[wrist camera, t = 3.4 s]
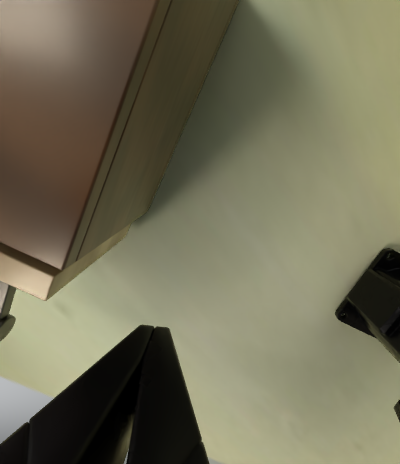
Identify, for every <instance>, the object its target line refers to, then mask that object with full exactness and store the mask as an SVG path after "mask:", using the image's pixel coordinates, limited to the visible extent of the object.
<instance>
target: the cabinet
mask: <svg viewBox="0 0 400 464" xmlns="http://www.w3.org/2000/svg"><path fill="white" fill-rule="evenodd" d="M238 2H239V0H0V242H1V243H3V244H5V245H7V246H9V247H12V248H14V249H16V250H18V251H20V252H23V253H25V254H27V255H29V256H31V257H33V258H36V259H38V260H40V261H42V262H44V263H46V264H49V265H51V266H53V267H55V268H57V269H59V270H65V269H66V268H67V267H69V266H70V265H72V264H73V263H74V262H77V261H78V260H79V259H81V258H82V257H84V256H85V255H87V254H88V253H89V252H91V251H92V250H94V249H95V248H96V247H98V246H99V245H101V244H102V243H104V242H105V241H106V240H108V239H109V238H111V237H112V236H114V235H115V234H116V233H118V232H119V231H121V230H122V229H124V228H125V227H126V226H128V225H129V224H131V223H132V222H133V221H135V220H136V219H138V218H139V217H141V216H142V215H143V214H145V213H146V212H148V210H149V208H150V205H151V203H152V201H153V199H154V196H155V194H156V192H157V189H158V187H159V185H160V182H161V180H162V178H163V175H164V173H165V171H166V169H167V166H168V164H169V162H170V159H171V157H172V155H173V152H174V150H175V148H176V145H177V143H178V141H179V138H180V136H181V134H182V132H183V129H184V127H185V125H186V122H187V120H188V118H189V115H190V113H191V111H192V108H193V106H194V104H195V102H196V99H197V97H198V95H199V92H200V90H201V88H202V85H203V83H204V81H205V78H206V76H207V74H208V71H209V69H210V67H211V65H212V62H213V60H214V58H215V55H216V53H217V51H218V48H219V46H220V44H221V41H222V39H223V37H224V35H225V32H226V30H227V28H228V25H229V23H230V21H231V18H232V16H233V14H234V11H235V9H236V7H237V5H238Z"/></svg>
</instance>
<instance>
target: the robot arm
mask: <svg viewBox="0 0 400 464" xmlns="http://www.w3.org/2000/svg"><path fill="white" fill-rule="evenodd" d="M388 254H390V256H389V257H388V258H387V255H388ZM343 313H345V314H344V315H343V316H341V315H342V314H343ZM335 315H336V317H337V318H338V320H340V321H341V322H343V323H345V324H348V325H350V326H352V327H354V328H356V329H358V330H360V331H362V332H364V333H366V334H368V335H370V336H372V337H375V338H377V339H378V340H379V341H380V342H381V343H382V345H383V346H384V347H385V348H386V349H387V350H388V351H389V352H390V353H391V354H392V355H393V357H394V358H395V359H396V360H397V361H398V362H399V363H400V253H398V252H396V251H394V250H392V249H390V248H385V249H383V250H382V251H381V252H380V253H379V255H378V256H377V257H376V259H375V260H374V261H373V263H372V264H371V265H370V266H369V268H368V269H367V270H366V271H365V273H364V274H363V275H362V277H361V278H360V279H359V281H358V282H357V283H356V285H355V286H354V287H353V289H352V290H351V291H350V293H349V294H348V295H347V297H346V298H345V299H344V301H343V302H342V303H341V305H340V306H339V307H338V309H337V310H336V312H335ZM394 409H395V412H396V414H397V417H398V419H399V422H400V400H399V401H398V402H397V403H396V405H395V406H394ZM201 441H202V438H201V434H200V431H199V427H198V424H197V421H196V417H195V414H194V410H193V407H192V404H191V400H190V397H189V393H188V390H187V387H186V383H185V380H184V376H183V373H182V370H181V366H180V363H179V359H178V356H177V353H176V349H175V346H174V342H173V339H172V336H171V332H170V329H169V328H167V327H158V326H157V327H155V328H154V326H150V325H140V326H138V327H137V328H136V329H135V330H134V331H132V332H131V333H130V334H129V335H128V336H127V337H125V338H124V339H123V340H122V341H121V342H120V343H118V344H117V345H116V346H115V347H114V348H113V349H111V350H110V351H109V352H108V353H107V354H106V355H104V356H103V357H102V358H101V359H100V360H99V361H97V362H96V363H95V364H94V365H93V366H92V367H90V368H89V369H88V370H87V371H86V372H84V373H83V374H82V375H81V376H80V377H79V378H77V379H76V380H75V381H74V382H73V383H72V384H70V385H69V386H68V387H67V388H66V389H65V390H63V391H62V392H61V393H60V394H59V395H58V396H56V397H55V398H54V399H53V400H52V401H51V402H50V403H48V404H47V405H46V406H45V407H44V408H42V409H41V410H40V411H39V412H38V413H36V414H35V415H34V416H33V417H32V418H31V419H30V421H29V423H28V422H26V423H25V424H23V425H22V426H21V427H20V428H19V429H18V430H16V431H15V432H14V433H13V434H12V435H10V436H9V437H8V438H7V439H6V440H5V441H3V442H2V443H1V444H0V464H124V461H125V458H126V454H127V452H128V457H127V463H126V464H209V461H208V457H207V454H206V451H205V447H204V444H203V442H201ZM128 449H129V451H128Z"/></svg>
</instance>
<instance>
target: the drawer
mask: <svg viewBox="0 0 400 464" xmlns="http://www.w3.org/2000/svg"><path fill="white" fill-rule="evenodd" d="M130 225H131V224H129V225H128V226H126V227H125V228H124V229H122V230H121V231H119V232H118V233H116V234H115V235H114V236H112V237H111V238H109V239H108V240H106V241H105V242H104V243H102V244H101V245H99V246H98V247H96V248H95V249H94V250H92V251H91V252H89V253H88V254H87V255H85V256H84V257H82V258H81V259H79V260H78V261H77V262H74V263H73V264H72V265H70V266H69V267H67V268H66V269H65V270H59V269H57V268H55V267H53V266H51V265H49V264H46V263H44V262H42V261H40V260H38V259H36V258H33V257H31V256H29V255H27V254H25V253H23V252H20V251H18V250H16V249H14V248H12V247H9V246H7V245H5V244H3V243H1V242H0V341H1V340H2V339H4V338H5V337H6V335H7V334H8V333H9V332H10V331H11V329H12V327H13V326H14V324H15V320H16V318H15V317H14V316H12V315H10V314H9V311H10V308H11V304H12V301H13V298H14V294H15V291H16V288H17V289H20V290H22V291H24V292H26V293H29V294H31V295H33V296H35V297H37V298H40V299H42V300H44V301H47V300H48V299H49V298H50V297H52V296H53V295H54V294H55V293H57V292H58V291H59V290H60V289H61V288H63V287H64V286H65V285H66V284H68V283H69V282H70V281H71V280H73V279H74V278H75V277H76V276H78V275H79V274H80V273H81V272H82V271H84V270H85V269H86V268H87V267H89V266H90V265H91V264H92V263H94V262H95V261H96V260H97V259H99V258H100V257H101V256H102V255H104V254H105V253H106V252H107V251H108V250H110V249H111V248H112V247H113V246H115V245H116V244H117V243H118V242H120V241H121V240H122V239H123V238H125V237H126V235H127V232H128V230H129V227H130Z"/></svg>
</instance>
